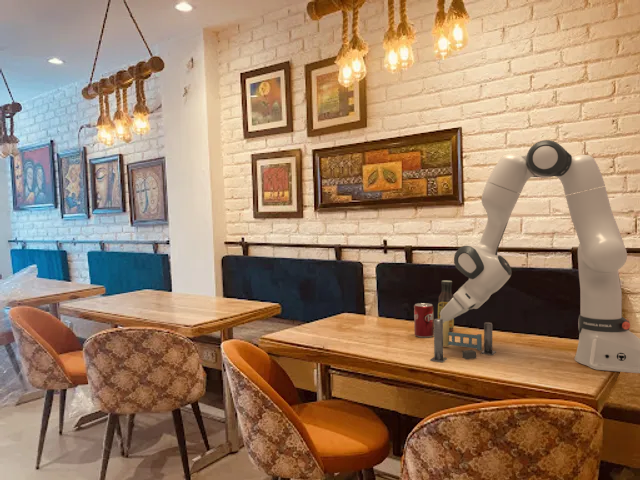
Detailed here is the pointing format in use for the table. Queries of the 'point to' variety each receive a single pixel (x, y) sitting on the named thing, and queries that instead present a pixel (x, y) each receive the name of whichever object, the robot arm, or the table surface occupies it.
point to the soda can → (424, 320)
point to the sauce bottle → (445, 300)
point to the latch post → (438, 341)
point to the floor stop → (469, 354)
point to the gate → (461, 335)
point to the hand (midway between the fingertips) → (443, 321)
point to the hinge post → (488, 340)
